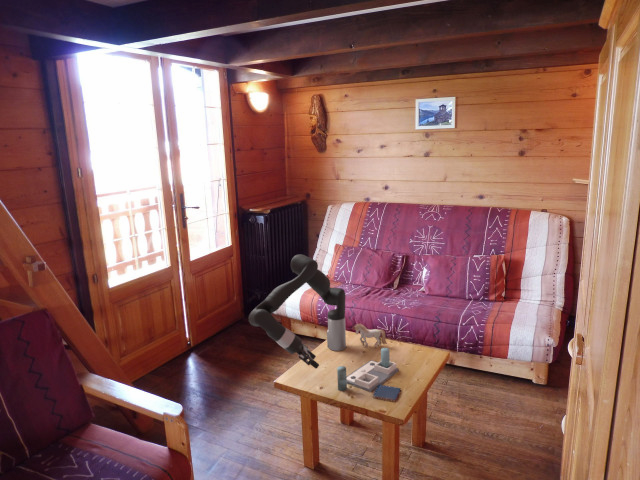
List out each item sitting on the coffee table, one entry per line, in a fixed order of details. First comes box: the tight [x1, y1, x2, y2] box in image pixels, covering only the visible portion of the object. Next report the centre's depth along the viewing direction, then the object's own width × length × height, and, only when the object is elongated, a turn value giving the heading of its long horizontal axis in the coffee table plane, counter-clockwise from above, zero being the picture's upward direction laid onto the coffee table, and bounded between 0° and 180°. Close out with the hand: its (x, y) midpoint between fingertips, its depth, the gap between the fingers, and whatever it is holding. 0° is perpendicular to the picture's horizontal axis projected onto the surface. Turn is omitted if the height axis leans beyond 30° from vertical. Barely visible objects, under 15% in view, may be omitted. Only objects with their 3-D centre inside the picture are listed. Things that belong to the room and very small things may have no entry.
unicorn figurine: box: [351, 323, 388, 349], centre depth 243 cm, size 7×20×13 cm, turn 99°
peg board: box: [346, 347, 400, 393], centre depth 212 cm, size 16×24×11 cm, turn 140°
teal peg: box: [336, 365, 348, 392], centre depth 202 cm, size 4×4×10 cm
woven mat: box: [372, 384, 402, 403], centre depth 197 cm, size 10×11×2 cm
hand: (316, 362), depth 198 cm, fingers open, 8 cm apart
